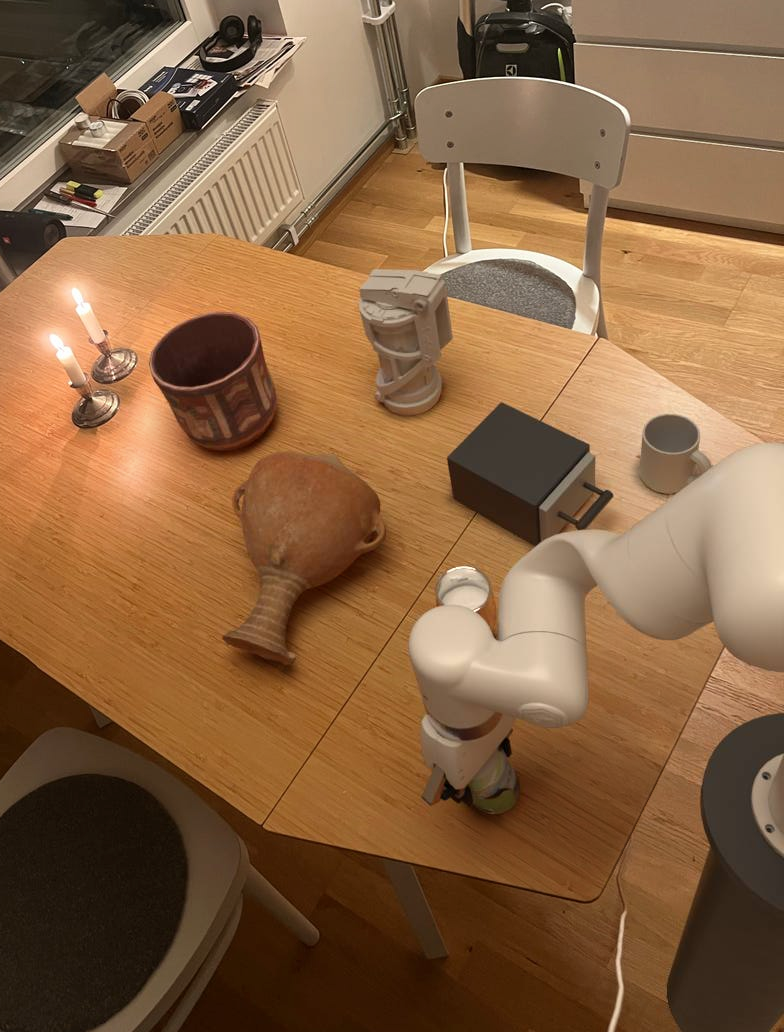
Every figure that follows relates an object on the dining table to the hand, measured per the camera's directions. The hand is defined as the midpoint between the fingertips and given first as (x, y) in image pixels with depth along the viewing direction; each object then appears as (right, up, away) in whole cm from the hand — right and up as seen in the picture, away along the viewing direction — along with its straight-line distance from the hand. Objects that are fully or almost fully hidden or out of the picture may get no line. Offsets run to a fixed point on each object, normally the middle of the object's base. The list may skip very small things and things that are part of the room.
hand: (479, 771), depth 100 cm
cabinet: (+12, +28, +32) cm, 45 cm away
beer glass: (+3, +9, +18) cm, 20 cm away
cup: (+33, +30, +28) cm, 53 cm away
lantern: (0, +43, +50) cm, 66 cm away
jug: (-20, +16, +31) cm, 40 cm away
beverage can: (+2, -5, +5) cm, 7 cm away
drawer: (+15, +27, +29) cm, 43 cm away
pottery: (-31, +38, +54) cm, 73 cm away
